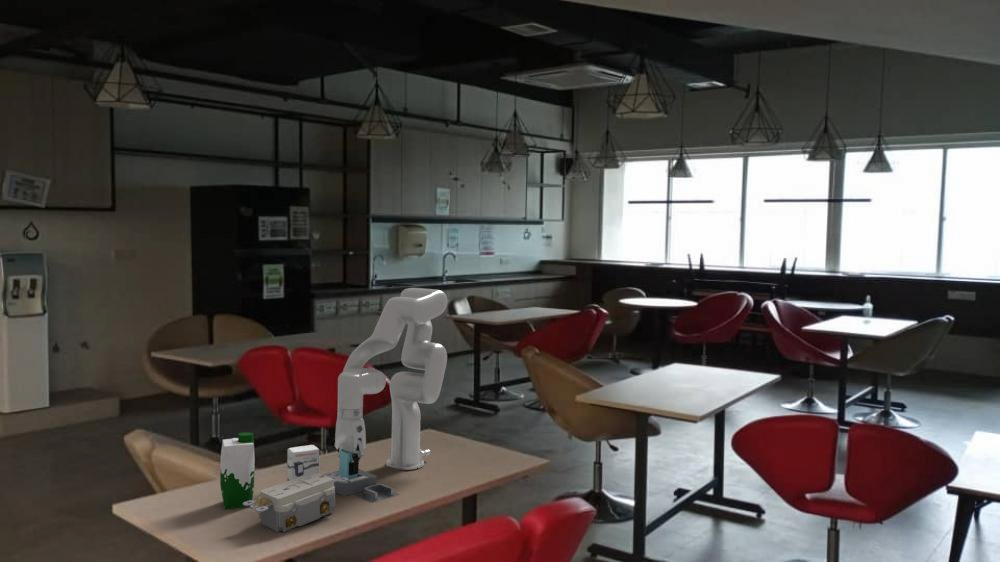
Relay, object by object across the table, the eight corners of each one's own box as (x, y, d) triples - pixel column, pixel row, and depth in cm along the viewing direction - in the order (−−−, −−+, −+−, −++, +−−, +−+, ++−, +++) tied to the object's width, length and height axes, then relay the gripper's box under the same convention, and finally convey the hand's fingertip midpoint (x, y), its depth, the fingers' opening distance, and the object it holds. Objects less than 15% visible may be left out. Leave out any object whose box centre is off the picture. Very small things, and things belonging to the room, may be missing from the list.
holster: (383, 489, 231) (383, 481, 231) (399, 496, 225) (400, 488, 225) (356, 497, 224) (356, 488, 223) (372, 504, 218) (372, 495, 218)
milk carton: (255, 507, 213) (256, 437, 212) (221, 510, 210) (221, 439, 209) (252, 496, 221) (253, 429, 220) (219, 500, 218) (219, 431, 217)
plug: (349, 480, 234) (350, 448, 233) (357, 483, 231) (358, 451, 231) (338, 483, 231) (339, 450, 230) (346, 486, 228) (347, 453, 228)
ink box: (291, 490, 228) (292, 452, 227) (286, 485, 232) (287, 447, 231) (319, 486, 233) (319, 448, 232) (313, 481, 237) (314, 444, 236)
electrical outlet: (354, 509, 213) (353, 474, 212) (264, 545, 191) (263, 507, 190) (328, 498, 220) (327, 465, 219) (239, 532, 199) (237, 495, 197)
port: (353, 479, 240) (353, 465, 239) (376, 488, 231) (376, 474, 231) (320, 487, 231) (320, 473, 231) (343, 497, 223) (343, 482, 222)
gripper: (377, 416, 227) (375, 476, 228) (344, 406, 238) (343, 464, 239) (356, 420, 221) (355, 481, 223) (323, 410, 233) (322, 468, 234)
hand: (349, 471), depth 231 cm, fingers closed on plug, 3 cm apart
